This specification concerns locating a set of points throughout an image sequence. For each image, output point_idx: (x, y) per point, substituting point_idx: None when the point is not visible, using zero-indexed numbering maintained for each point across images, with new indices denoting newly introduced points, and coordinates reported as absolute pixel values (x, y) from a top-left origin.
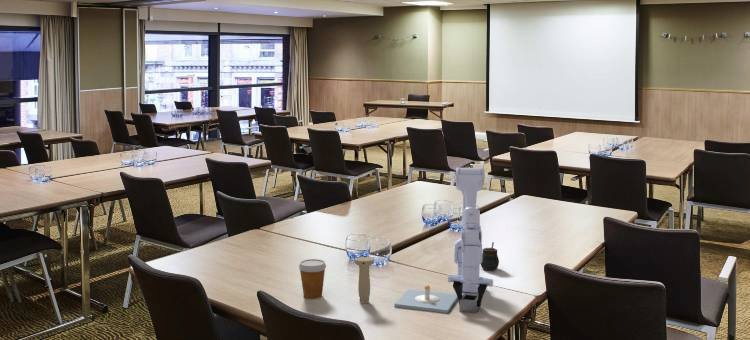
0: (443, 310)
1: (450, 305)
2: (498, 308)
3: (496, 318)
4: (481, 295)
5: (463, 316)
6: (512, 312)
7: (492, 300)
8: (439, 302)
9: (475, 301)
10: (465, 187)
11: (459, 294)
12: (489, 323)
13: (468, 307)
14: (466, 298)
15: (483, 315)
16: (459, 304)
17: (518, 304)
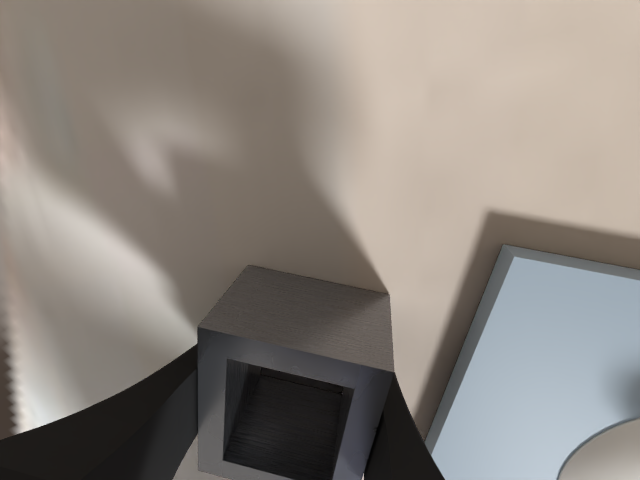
0: (556, 262)
1: (471, 369)
2: (125, 365)
3: (83, 178)
4: (117, 399)
5: (349, 181)
6: (28, 307)
7: (188, 472)
8: (571, 427)
9: (211, 329)
10: None
11: (397, 455)
12: (98, 35)
13: (303, 301)
14: (328, 450)
15: (189, 229)
16: (391, 333)
17: (45, 421)
